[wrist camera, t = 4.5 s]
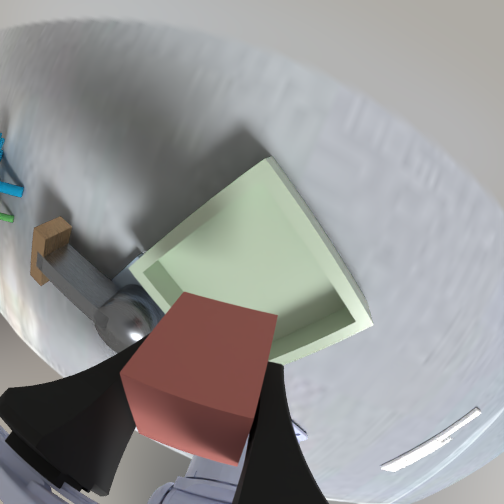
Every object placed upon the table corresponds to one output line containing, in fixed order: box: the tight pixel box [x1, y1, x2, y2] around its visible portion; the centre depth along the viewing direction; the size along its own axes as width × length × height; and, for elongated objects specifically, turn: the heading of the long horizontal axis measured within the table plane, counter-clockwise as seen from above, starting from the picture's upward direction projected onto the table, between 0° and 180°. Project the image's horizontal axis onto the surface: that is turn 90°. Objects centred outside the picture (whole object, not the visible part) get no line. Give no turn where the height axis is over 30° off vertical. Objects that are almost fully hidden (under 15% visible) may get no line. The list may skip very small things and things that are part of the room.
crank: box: [30, 216, 165, 353], centre depth 18 cm, size 12×5×3 cm, turn 57°
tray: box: [128, 156, 374, 365], centre depth 16 cm, size 11×11×2 cm
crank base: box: [111, 253, 143, 288], centre depth 21 cm, size 6×10×1 cm, turn 127°
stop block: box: [120, 292, 278, 467], centre depth 10 cm, size 4×4×5 cm
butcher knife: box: [380, 408, 481, 472], centre depth 22 cm, size 5×15×1 cm, turn 147°
